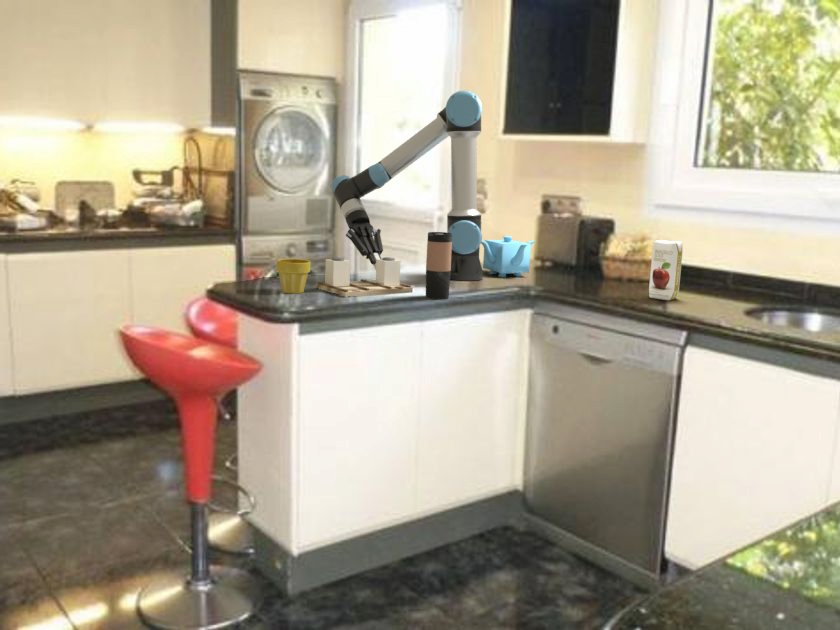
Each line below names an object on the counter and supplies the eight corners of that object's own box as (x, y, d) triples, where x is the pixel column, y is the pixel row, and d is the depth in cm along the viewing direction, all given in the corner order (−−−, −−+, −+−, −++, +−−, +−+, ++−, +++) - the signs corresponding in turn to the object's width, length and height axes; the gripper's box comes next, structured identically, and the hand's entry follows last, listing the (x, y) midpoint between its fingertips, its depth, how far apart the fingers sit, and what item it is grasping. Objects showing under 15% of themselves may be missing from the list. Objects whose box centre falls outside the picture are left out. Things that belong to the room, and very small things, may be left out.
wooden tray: (316, 288, 267) (316, 281, 267) (381, 283, 282) (381, 277, 281) (345, 297, 253) (345, 290, 252) (412, 292, 268) (412, 285, 267)
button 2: (375, 283, 271) (376, 257, 269) (390, 282, 274) (391, 256, 273) (384, 286, 267) (385, 259, 265) (399, 285, 271) (400, 258, 269)
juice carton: (655, 295, 282) (660, 239, 279) (680, 298, 277) (685, 241, 274) (646, 297, 277) (651, 240, 273) (670, 301, 271) (676, 243, 268)
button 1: (325, 284, 265) (325, 257, 264) (341, 283, 269) (342, 256, 267) (333, 286, 261) (333, 259, 260) (349, 285, 265) (350, 258, 263)
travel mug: (450, 296, 263) (453, 232, 259) (448, 300, 256) (451, 234, 252) (425, 294, 264) (428, 231, 260) (423, 298, 256) (426, 233, 253)
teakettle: (488, 270, 327) (490, 232, 325) (535, 274, 321) (538, 236, 318) (475, 276, 310) (477, 236, 307) (524, 280, 304) (527, 240, 301)
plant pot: (317, 292, 260) (317, 260, 259) (294, 295, 252) (294, 263, 250) (292, 288, 266) (292, 257, 264) (269, 291, 258) (269, 260, 256)
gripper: (367, 222, 289) (392, 277, 279) (334, 222, 282) (359, 279, 272) (376, 208, 284) (402, 263, 274) (343, 208, 276) (368, 265, 266)
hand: (380, 271), depth 273 cm, fingers closed
